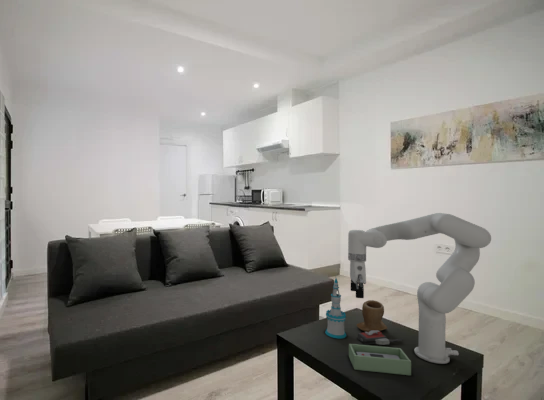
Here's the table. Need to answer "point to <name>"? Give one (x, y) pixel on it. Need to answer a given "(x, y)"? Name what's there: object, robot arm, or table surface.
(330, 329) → the model tower
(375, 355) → the remote
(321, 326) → the table surface
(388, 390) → the table surface
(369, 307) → the brown flared hollow piece
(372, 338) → the walkie-talkie
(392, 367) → the tray
